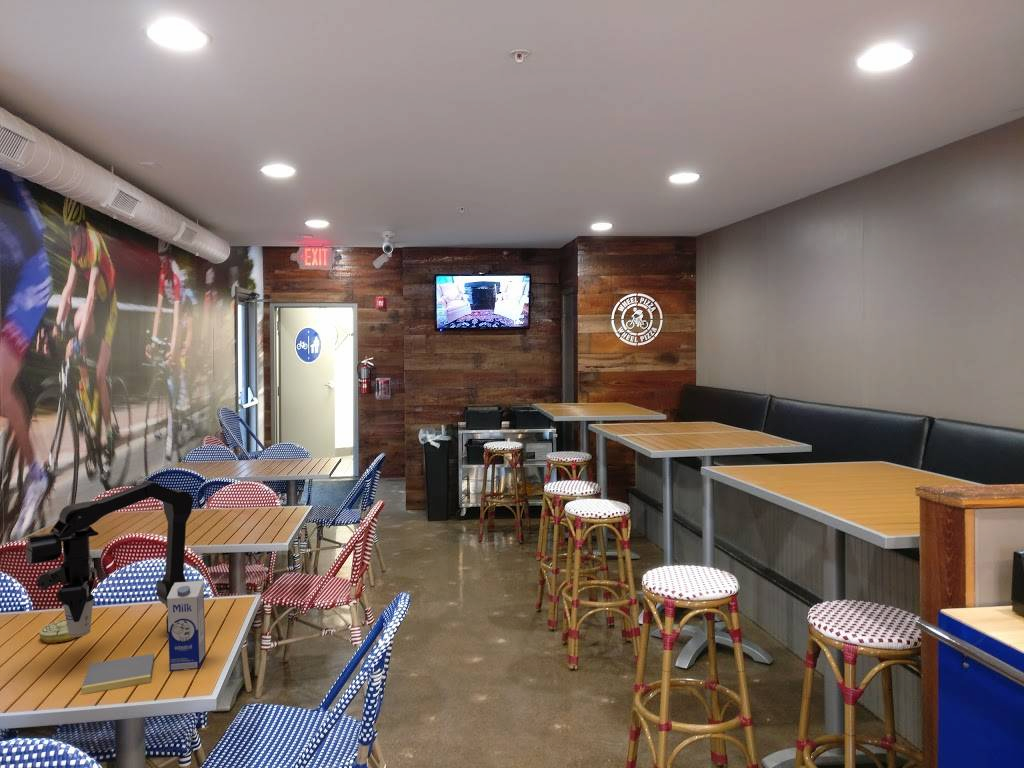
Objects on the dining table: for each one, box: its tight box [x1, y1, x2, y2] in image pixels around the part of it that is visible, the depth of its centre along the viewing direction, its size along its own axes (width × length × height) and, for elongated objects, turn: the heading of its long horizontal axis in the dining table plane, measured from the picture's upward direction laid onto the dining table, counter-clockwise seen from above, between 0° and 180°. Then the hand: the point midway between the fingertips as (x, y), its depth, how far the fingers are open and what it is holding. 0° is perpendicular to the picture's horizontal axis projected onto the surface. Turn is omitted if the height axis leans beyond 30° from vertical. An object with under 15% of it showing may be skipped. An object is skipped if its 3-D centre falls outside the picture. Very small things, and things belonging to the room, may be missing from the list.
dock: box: [81, 653, 155, 695], centre depth 171 cm, size 14×14×2 cm
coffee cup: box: [62, 593, 95, 638], centre depth 179 cm, size 7×7×10 cm
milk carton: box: [167, 580, 206, 672], centre depth 176 cm, size 7×7×20 cm
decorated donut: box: [38, 619, 77, 644], centre depth 195 cm, size 10×11×4 cm
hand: (79, 616), depth 179 cm, fingers closed on coffee cup, 7 cm apart
